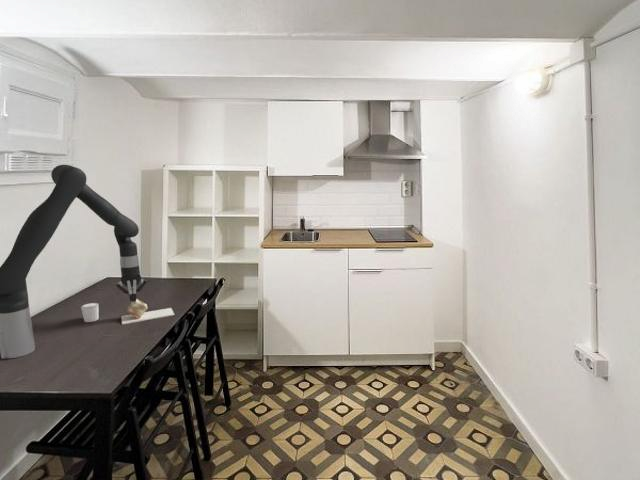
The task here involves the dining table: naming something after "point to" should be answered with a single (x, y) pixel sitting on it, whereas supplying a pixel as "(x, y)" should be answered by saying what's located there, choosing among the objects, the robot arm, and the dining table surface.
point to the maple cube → (137, 308)
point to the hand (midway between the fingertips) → (133, 301)
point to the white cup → (90, 312)
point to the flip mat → (147, 316)
